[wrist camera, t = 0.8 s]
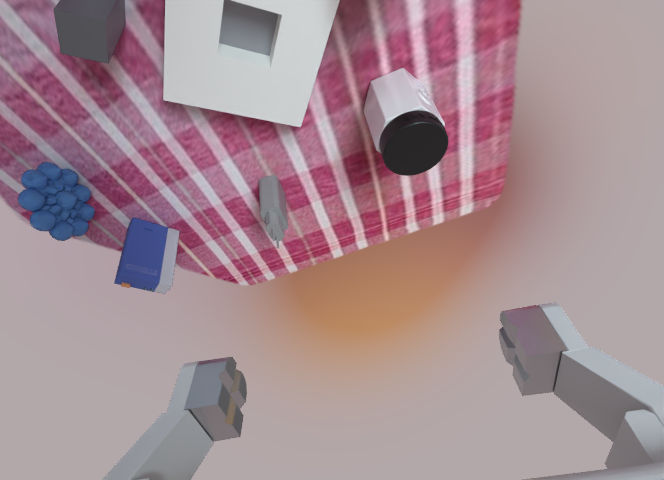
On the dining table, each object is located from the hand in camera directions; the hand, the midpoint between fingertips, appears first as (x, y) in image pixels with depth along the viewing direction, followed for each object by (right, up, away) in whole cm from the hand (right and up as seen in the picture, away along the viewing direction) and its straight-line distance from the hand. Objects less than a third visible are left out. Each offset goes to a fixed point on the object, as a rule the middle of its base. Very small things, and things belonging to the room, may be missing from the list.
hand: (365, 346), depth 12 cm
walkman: (-32, +5, +58) cm, 66 cm away
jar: (+8, +23, +45) cm, 51 cm away
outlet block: (-11, +29, +34) cm, 46 cm away
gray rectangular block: (-25, +29, +31) cm, 49 cm away
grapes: (-40, +13, +47) cm, 63 cm away
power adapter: (-11, +12, +55) cm, 57 cm away
